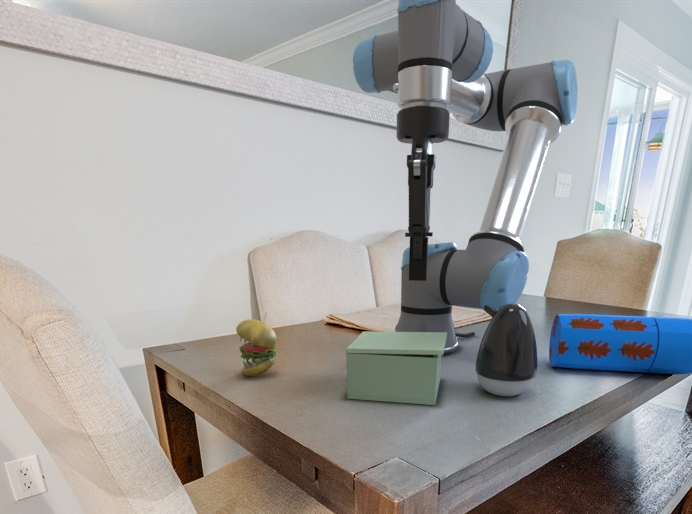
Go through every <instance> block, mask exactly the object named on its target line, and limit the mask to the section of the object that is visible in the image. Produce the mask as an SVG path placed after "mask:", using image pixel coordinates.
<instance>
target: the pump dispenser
mask: <svg viewBox="0 0 692 514" xmlns="http://www.w3.org/2000/svg"><path fill="white" fill-rule="evenodd" d="M482 310H483V311H484V312H485V313H486V314H488V315H489V316H490V317H491V319H490V321H489V323H488V324H487V326H486V329H485V330H484V333H483V336H482V338H481V340H480V344H479V347H478V351H477V355H476V359H475V364H474V365H475V367H474V371H475V373H476V376H477V380H478V382H479V385H481V387H482V388H483V390H485V391H486V392H487V393H489V394H491V395H495V396H499V397H515V396H517V395H521V394H522V393H524V392H525V391H527V390H528V389H529V388H530V387H531V385H532V384H533V381H534V379H535V378H536V377H537V373H538V347H537V346H538V345H537V340H536V334H535V330H534V325H533V323H532V320H531V317H530V315H529V313H528V311H527V310H526V309H525V308H524V307H523V306H521V305H520V304H518V303H515V304H506V305H504V306H502V307H501V308H499V309H498V310H496V309H494V308H492V307H490V306H488V305H485V306H484V308H483V309H482Z"/></svg>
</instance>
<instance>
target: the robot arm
mask: <svg viewBox="0 0 692 514" xmlns="http://www.w3.org/2000/svg"><path fill="white" fill-rule="evenodd" d="M456 2H457V0H398V4H397V9H396V12H397V30H394V31H391V32H387V33H383V34H375V35H373V36H372V37H369V38H367V39H364V40H361V41H360V42H358V44H356V46H355V48H354V51H353V54H352V64H353V65H352V70H353V71H352V72H353V76H354V79H355V82H356V84H357V85H358V87H359V88H360V89H361V90H362V91H363V92H364V93H367V94H373V93H376V94H380V93H381V92H390V93H394V94H397V107H398V108H399V109H400V110H398V112H397V113H396V140H397V141H398V142H400V143H402V144H410V145H411V149H410V150H411V151H410V153H411V154H407V155H406V167H407V186H408V227H407V231H408V232H404V236H405V237H406V238H409V247H406V248H405V249H404V251H403V253H402V259H401V267H400V270H401V279H400V280H401V281H400V282H401V283H400V284H401V286H400V315H399V318H398V321H397V324H396V325H395V328H394V330H395V331H394V332H447V339H446V344H445V348H444V353H443V355H447V354H451V353H453V352H456V350H457V349H458V338H470V337H474V336H475V335H476V333H475V332H474V331H472V332H471V331H470V332H468V333H463V332H456V329H455V324H454V320H453V316H452V313H453V306H455V307H463V308H464V307H465V308H470V309H471V308H472V309H479V310H483V308H484V306H485V305H488V306H490V307H492V308H494V309H496V310H498V309H499V308H501V307H502V306H504V305H506V304H517V302H518V301H519V299H520V297H521V296H522V294H523V292H524V289H525V288H526V287H525V286H526V283H527V280H528V273H529V267H530V261H529V257H528V256H527V254H526V253H525V247H524V245H523V244H522V243H521V239H522V235H523V232H524V229H525V224H526V221H527V218H528V215H529V211H530V208H531V204H532V201H533V198H534V195H535V192H536V188H537V185H538V181H539V178H540V175H541V172H542V168H543V165H544V164H543V163H544V161H545V157H546V155H547V151H548V148H549V145H550V144H552V143H554V142H555V141H556V140H557V138H558V137H559V135H560V133H561V130H562V127H563V126H565V127H567V126H569V125H571V124H573V122H574V121H575V119H576V116H577V115H576V114H577V110H578V109H577V108H578V77H577V70H576V67H575V65H574V62H573V61H571V60H569V59H562V60H554V59H553V60H551V61H549V62H545V63H539V64H531V65H528V66H522V67H521V66H520V67H515V68H509V69H503V70H498V71H492V72H487V70H488V68H489V66H490V64H491V62H492V59H493V54H494V43H493V39H492V36H491V35H490V33H489V31H488V30H487V28H485V27H484V25H483V23H482V22H480V20H477V19H475V18H474V17H473V16H471V14H469V13H468V12H466V11H464V9H462V8H461V7H460V5H458V4H457V3H456ZM486 72H487V73H486ZM451 114H452V116H453V118H454V119H455V120H456V121H457V122H460V123H461V124H465V125H467V126H471V127H474V128H477V129H480V130H485V131H490V132H506V135H507V136H508V137H507V141H506V143H505V146H504V149H503V153H502V156H501V159H500V163H499V166H498V170H497V172H496V176H495V178H494V182H493V186H492V188H491V192H490V195H489V198H488V202H487V205H486V208H485V211H484V215H483V218H482V222H481V225H480V227H479V231H477V232H475V233H473V234H471V235H470V237H469V239H468V242H467V245H466V248H465V249H457V248H458V246H457V244H456V242H455V241H454V242H453V241H451V242H449V241H448V242H440V243H430V244H429V237H433V236H434V233H433V232H432V231H430V230H431V226H430V222H431V221H430V220H431V204H432V203H431V202H432V189H433V188H434V174H435V170H436V167H437V165H436V164H437V156H436V155H435V154H432V145H433V144H439V143H443V142H446V141H447V140H448V139H449V136H450V135H449V134H450V118H451V117H450V115H451Z"/></svg>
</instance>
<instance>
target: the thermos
mask: <svg viewBox="0 0 692 514" xmlns="http://www.w3.org/2000/svg"><path fill="white" fill-rule="evenodd" d="M550 329H551V330H550V335H549V343H548V344H549V345H548V360H549V364H550V366H551V367H553V368H563V369H572V370H573V369H574V370H590V371H591V370H592V371H606V372H607V371H609V372H624V373H625V372H627V373H645V374H661V375H690V374H692V318H687V317H669V316H645V315H644V316H642V315H641V316H639V315H616V314H615V315H612V314H592V313H591V314H588V313H586V314H585V313H558V314H556V315H555V316H554V319H553V321H552V325H551V328H550Z"/></svg>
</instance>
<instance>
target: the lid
mask: <svg viewBox="0 0 692 514" xmlns="http://www.w3.org/2000/svg"><path fill="white" fill-rule="evenodd" d="M446 339H447V332H395V331H373V330H372V331H371V330H370V331H369V330H368V331H366V330H365V331H362V332H361V333H360V334H359V335H358V336H357V337H356V338H355V339H354V340H353V341H352V342H351V343H350V344H349V345H348V346H347V347H346V351H345V352H346V353H371V354H416V355H442V356H443V355H444V354H443V353H444V348H445V344H446ZM346 353H345V354H346Z"/></svg>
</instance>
